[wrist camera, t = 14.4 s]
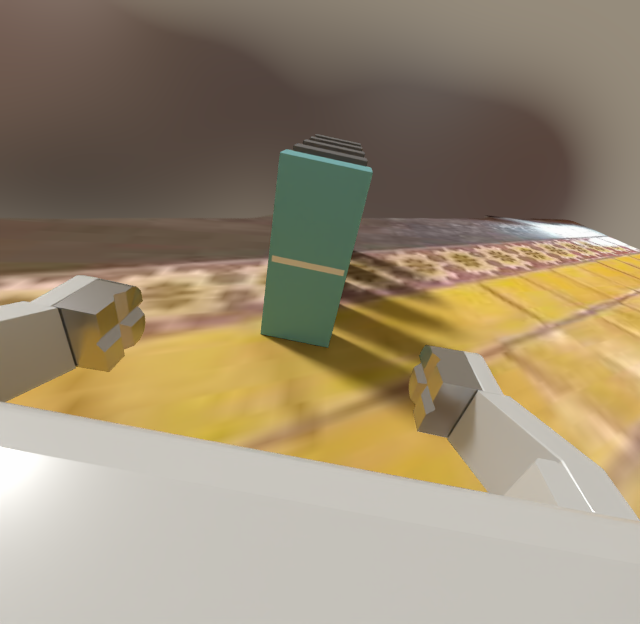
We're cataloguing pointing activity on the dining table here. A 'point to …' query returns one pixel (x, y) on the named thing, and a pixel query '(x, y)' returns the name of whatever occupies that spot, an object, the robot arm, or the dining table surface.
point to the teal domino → (311, 244)
